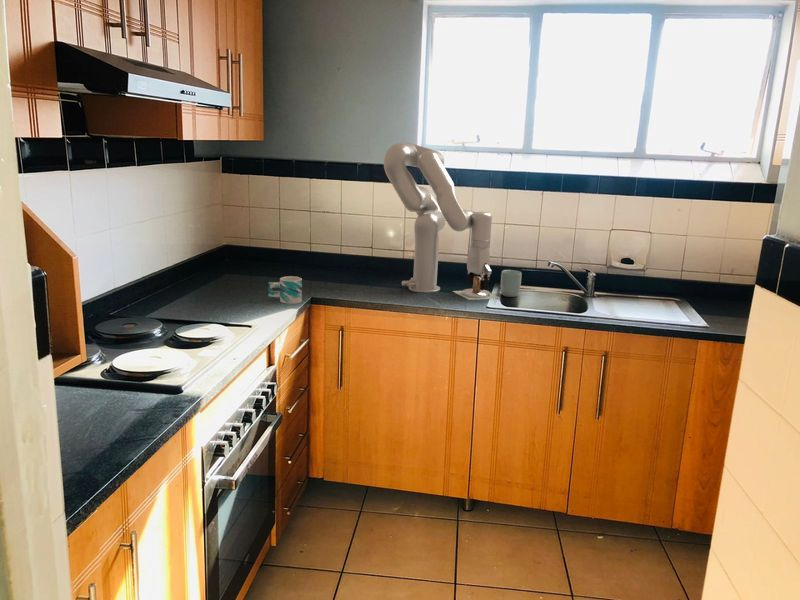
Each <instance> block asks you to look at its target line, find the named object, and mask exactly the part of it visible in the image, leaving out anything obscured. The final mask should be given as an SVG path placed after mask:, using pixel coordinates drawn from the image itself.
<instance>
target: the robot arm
mask: <svg viewBox="0 0 800 600" xmlns="http://www.w3.org/2000/svg"><path fill="white" fill-rule="evenodd" d="M406 165H408V166H411V167H415V168H419V170H420V172H421V174H422V175H423V177H424V179H425V180H426V182H427V183H428V185H429V187H430V188H431V191H432V193H433V194H434V196H433V195H432V193H431V192H430V190H429V189H427V188H426V187H424V186H421V185H420V186H419V185H418V184H417V182H416V180H415V179H414V177H413V175H412V174H411V173H410V171H409V170H408V168H407V166H406ZM383 169H384V171H385V174H386V176H387V178H388V180H389V182H390V183H391V185H392V187H393V189H394V190H395V193H396V194H397V196H398V198H399V199H400V201H401V202H402V204H403V206H404V208H406V210H407V211H409V212H412V213H416V215H417V217H416V219H415V220H414V221H415V222H414V225H413V227H414V253H413V254H414V256H413V257H414V258H413V259H414V260H413V277H410V279H409V280H402V281H401V285H402V287H403V286H404V287H405V286H407V287H408V289H409V290H410V291H411V292H415V293H418V294H419V293H436V292H439V291H440V290H441V287H440V286H438V285H437V283H438V282H437V281H438V268H439V267H438V265H439V250H440V239H439V232H441V230H443V229H444V227H445V224H446V223H447V224H448V226H449V227H450V228H451V229H452V231H455V232H459V233H460V232H463V231H465V230H467V229H468V230H469V229H470V230H471V234H470V246H469V251H468V255H467V261H466V269H467V285H469V286H470V285H471V286H472V285H473V280H474V277H475V276H478V275H480V276H479V277H481V281H480V290H487V291H489V280H490V278H491V275H492V269H491V267H490V265H491V264H490V262H491V257H490V256H491V255H490V248H491V235H492V234H491V233H492V223H493V221H492V219H493V216H492V213H490V212H487V211H473V210H468V209H463V208H462V207H461V205H460V204H459V201H458V200H457V197H456V194H455V183H454V181H453V180H452V177H451V176H450V174H449V173H448V171H447V169H446V167H445V158H444V156H443V154H442V153H441V152H439V151H437V150H436V149H432V148H427V147H424V146H421V145H417V144H414V143H411V142H398V143H397V142H396V143H395V144H392V145H391V146H390V147H389V148H388V149H387V151H386V152H385V155H384V157H383Z"/></svg>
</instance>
